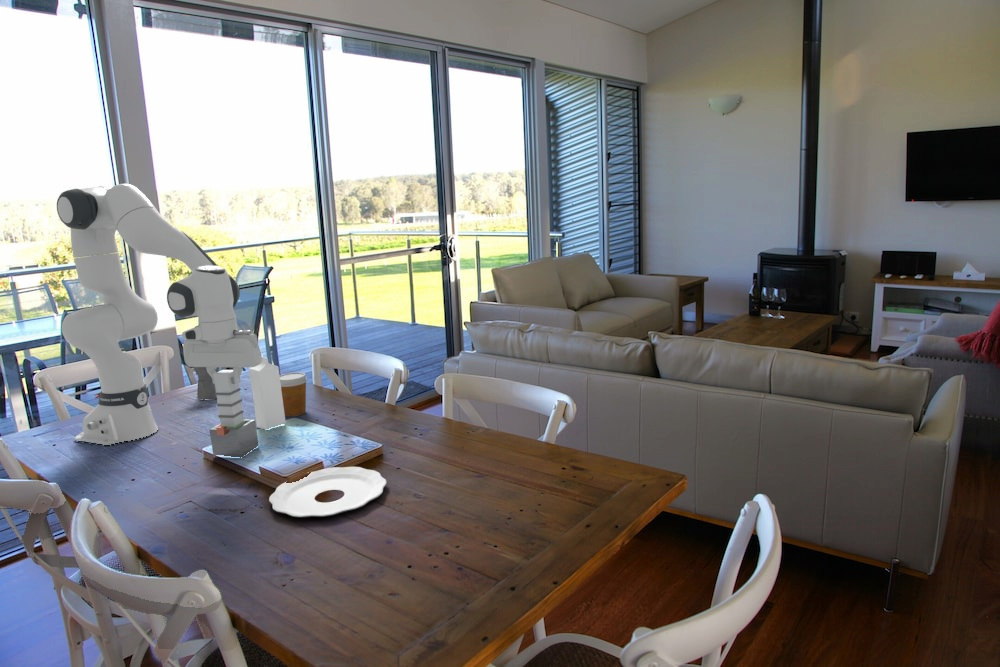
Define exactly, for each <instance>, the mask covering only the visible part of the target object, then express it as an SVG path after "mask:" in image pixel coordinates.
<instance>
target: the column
mask: <svg viewBox="0 0 1000 667" xmlns="http://www.w3.org/2000/svg"><path fill="white" fill-rule="evenodd" d="M234 374H235V371H233V369H230V370H226V369H222V370H219V372H217V373H214V374H213V376H214V382H215V389H216V392H215V395H216V396H217V399H216V401H217V403H216V407H217V409H218V416H217V417H218V418H219V422H220V423H221V426H226V429H237V428H239V427H241V426H242V425H244V424H245V421H244V419H245V418H244V412H245V411H244V409H243V405H242V402H243V399H242V398H241V394H240V393H241V392H240V391H241V390H242V389H241V388H240V383H239V384H232V383H231V377H233V376H234ZM220 423H219V424H220Z"/></svg>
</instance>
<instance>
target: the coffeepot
mask: <svg viewBox="0 0 1000 667" xmlns="http://www.w3.org/2000/svg"><path fill="white" fill-rule="evenodd" d="M192 368H193V369H194V372H195V374H196V376H197V378H198V380H197V394H196V395H197V396H196V398H198V399H197V400H199V399H203V400H202V401H206V400H205V399H213V400H216V399H215V398H217V396H216V395H215V392H216V389H215V384H213V382H212V377H211V376H210V375H209V373H208V372H207V369H206V367H192ZM225 370H231V367H225ZM215 371H216V372H219V371H220V367H216V369H215Z"/></svg>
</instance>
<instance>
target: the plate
mask: <svg viewBox="0 0 1000 667" xmlns="http://www.w3.org/2000/svg"><path fill="white" fill-rule="evenodd" d="M310 472H311V473H310V474H309V475H308V476H307V477H304V478H303V479H300V480H299V481H296V482H292V483H286V482H287V481H285V482H283V483H281V484H280V485H278V486H277V487H276V489H275V491H274V492H273V493H271V495H269V499H268V502H269V503H270V504H271V505H272V510H273V511H275V513H280V514H284V515H288V516H290V517H292V518H300V519H302V518H311V517H312V518H314V517H315V518H325V517H333V516H337V515H340V514H342V513H345V512H349V511H350V512H351V511H354V510H358V509H360V508H362V507H364V506H365V505H367V504H368V503H369V502H371V501H373V500H375V499H378V498H379V497H380V496H381V495H382V494H383V492H384V488H385V487H386V485H387V479H386V478H384V477H383V476H382V475H381V473H380V472H378V471H377V470H375V469H367V468H363V467H361V466H345V467H338V466H336V467H332V466H331V467H326V468H323V469H322V468H321V469H318V470H315V471H310ZM333 490H334V491H335V490H336V491H342V492H343V496H342V497H341V498H339V499H337V500H334V501H329V502H320V501H318V500H316V499H315V498H316V497H317V496H318V495H319V494H321V493H325V492H327V491H333Z"/></svg>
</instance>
